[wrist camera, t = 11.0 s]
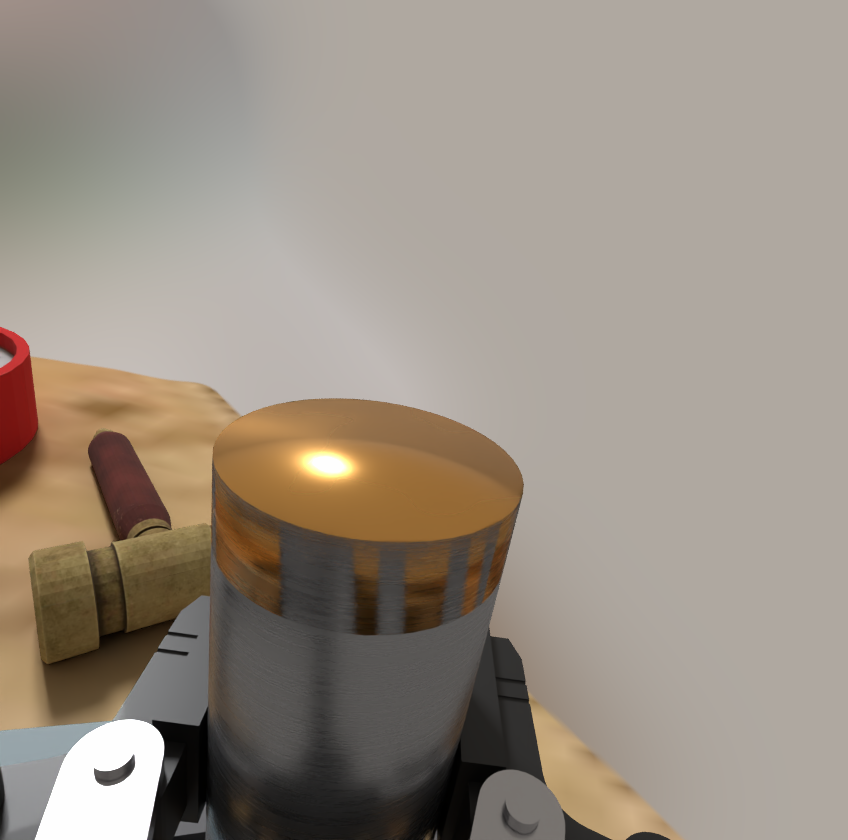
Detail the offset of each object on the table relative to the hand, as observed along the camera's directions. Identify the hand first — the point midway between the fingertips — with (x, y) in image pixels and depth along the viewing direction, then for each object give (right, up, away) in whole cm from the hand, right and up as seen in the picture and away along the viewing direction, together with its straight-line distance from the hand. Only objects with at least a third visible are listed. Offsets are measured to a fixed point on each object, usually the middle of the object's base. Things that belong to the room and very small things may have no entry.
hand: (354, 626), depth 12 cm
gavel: (-16, -2, +20) cm, 26 cm away
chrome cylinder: (-1, -9, +1) cm, 9 cm away
